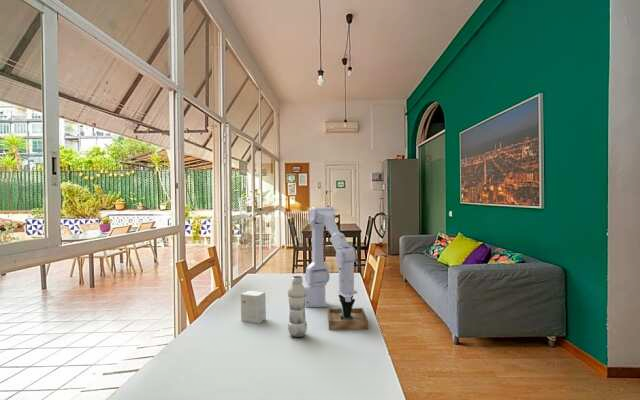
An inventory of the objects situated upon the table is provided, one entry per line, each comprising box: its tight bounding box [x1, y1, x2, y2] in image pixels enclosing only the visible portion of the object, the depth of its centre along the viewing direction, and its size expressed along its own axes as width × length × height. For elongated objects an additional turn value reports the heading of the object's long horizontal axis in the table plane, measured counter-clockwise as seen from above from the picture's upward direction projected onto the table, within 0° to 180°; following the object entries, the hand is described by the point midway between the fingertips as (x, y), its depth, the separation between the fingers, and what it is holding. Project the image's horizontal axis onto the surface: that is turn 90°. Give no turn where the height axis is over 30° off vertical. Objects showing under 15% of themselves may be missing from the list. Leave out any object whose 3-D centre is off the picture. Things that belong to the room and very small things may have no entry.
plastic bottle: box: [287, 275, 308, 338], centre depth 118 cm, size 6×7×20 cm
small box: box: [240, 290, 267, 324], centre depth 134 cm, size 8×6×10 cm
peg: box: [341, 306, 351, 320], centre depth 131 cm, size 3×3×6 cm
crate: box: [327, 307, 369, 331], centre depth 131 cm, size 14×14×3 cm
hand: (346, 315), depth 131 cm, fingers closed on peg, 3 cm apart
